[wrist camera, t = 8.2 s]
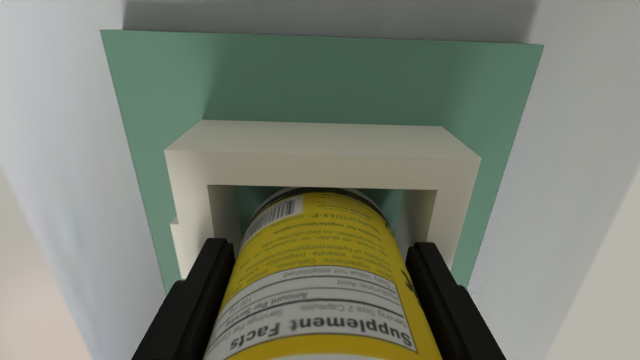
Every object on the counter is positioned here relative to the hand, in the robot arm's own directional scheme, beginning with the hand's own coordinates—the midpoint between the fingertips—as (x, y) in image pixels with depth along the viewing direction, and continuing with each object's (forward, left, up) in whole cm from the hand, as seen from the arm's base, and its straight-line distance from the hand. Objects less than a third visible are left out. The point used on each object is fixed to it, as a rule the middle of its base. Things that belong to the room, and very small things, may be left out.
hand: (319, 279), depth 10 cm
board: (-1, 0, -4) cm, 4 cm away
